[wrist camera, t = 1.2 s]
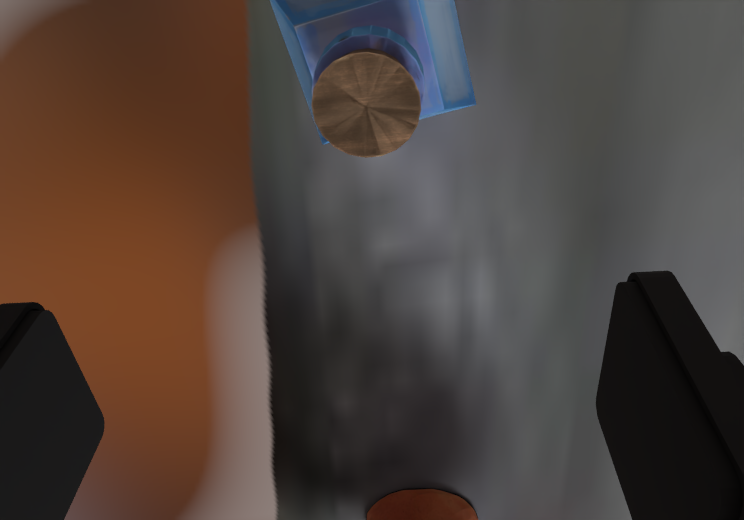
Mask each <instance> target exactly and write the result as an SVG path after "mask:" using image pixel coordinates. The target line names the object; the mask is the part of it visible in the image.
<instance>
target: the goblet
mask: <svg viewBox="0 0 744 520" xmlns="http://www.w3.org/2000/svg"><path fill="white" fill-rule="evenodd" d="M367 520H478V518H477V515H476V513H475V511H474V509H473V508H472V507H471V506H470V505H469V504H468V503H467V502H466V501H465V500H464V499H462V498H461V497H459V496H456V495H453V494H451V493H448V492H445V491H441V490H436V489H418V490H402V491H398V492H395V493H391V494H389V495H387V496H386V497H384V498H382V499H381V500H379V501H378V502H377V503H375V504H374V505H373V506H372V508H371V509H370V510H369V511H368V513H367Z"/></svg>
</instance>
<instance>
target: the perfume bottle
mask: <svg viewBox="0 0 744 520" xmlns="http://www.w3.org/2000/svg"><path fill="white" fill-rule="evenodd" d="M270 3H271V5H272V8H273V11H274V14H275V16H276V19H277V22H278V24H279V27H280V30H281V33H282V35H283V38H284V41H285V43H286V46H287V49H288V52H289V54H290V57H291V60H292V63H293V65H294V68H295V71H296V73H297V76H298V79H299V82H300V84H301V87H302V90H303V93H304V95H305V98H306V101H307V103H308V106H309V109H310V112H311V114H312V117H313V120H314V122H315V125H316V128H317V131H318V133H319V136H320V139H321V142H322V144H327V143H331V144H332V145H333V146H334V147H335V148H337V149H339V150H341V151H343V152H345V153H347V154H349V155H354V156H360V157H365V158H366V157H376V156H382V155H385V154H387V153H390V152H392V151H394V150H397V149H398V148H399V147H400V146H401V145H403V144H404V143H405V142H406V141H407V140H409V138H410V137H411V135H412V133H413V132H414V130H415V129H416V127H417V125H418V121H419V119H423V118H427V117H431V116H434V115H438V114H442V113H446V112H450V111H454V110H457V109H461V108H465V107H469V106H473V105H476V101H475V96H474V91H473V87H472V82H471V77H470V73H469V68H468V63H467V58H466V54H465V49H464V44H463V40H462V35H461V30H460V25H459V21H458V16H457V11H456V7H455V2H454V0H270Z"/></svg>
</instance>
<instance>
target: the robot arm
mask: <svg viewBox="0 0 744 520" xmlns="http://www.w3.org/2000/svg"><path fill="white" fill-rule="evenodd" d="M596 409H597V416H598V419H599V423H600V426H601V429H602V431H603V434H604V437H605V440H606V443H607V446H608V449H609V452H610V455H611V458H612V461H613V464H614V467H615V470H616V473H617V476H618V479H619V482H620V485H621V488H622V490H623V493H624V496H625V499H626V502H627V505H628V508H629V511H630V514H631V517H632V520H744V366H743V364H742V363H741V362H740V360H739V359H738V358H737V357H736V356H735V355H734V354H732V353H730V352H720V350H719V348H718V347H717V345H716V343H715V342H714V340H713V338H712V337H711V335H710V333H709V332H708V330H707V329H706V327H705V325H704V324H703V322H702V320H701V319H700V317H699V315H698V314H697V312H696V310H695V309H694V307H693V305H692V304H691V302H690V301H689V299H688V297H687V296H686V294H685V292H684V291H683V289H682V287H681V286H680V284H679V282H678V281H677V279H676V277H675V276H674V275H673V274H672V272H670V271H653V272H633V273H631V274H630V275H629V277H628V280H627V282H620V283H618V284H617V286H616V290H615V295H614V301H613V307H612V312H611V318H610V323H609V329H608V334H607V340H606V346H605V351H604V357H603V362H602V368H601V374H600V379H599V385H598V390H597V396H596ZM103 432H104V417H103V414H102V412H101V410H100V408H99V406H98V404H97V402H96V400H95V398H94V396H93V394H92V392H91V390H90V388H89V386H88V384H87V382H86V380H85V378H84V376H83V373H82V371H81V370H80V367H79V365H78V363H77V361H76V359H75V357H74V355H73V353H72V351H71V349H70V347H69V345H68V343H67V341H66V339H65V337H64V335H63V333H62V331H61V329H60V326H59V324H58V322H57V320H56V319H55V317H54V315H53V314H52V312H50V311H48V310H45V309H44V308H43V306H42V305H40V304H38V303H35V302H29V303H9V304H8V303H7V304H1V305H0V520H64V518H65V516H66V514H67V512H68V509H69V507H70V505H71V503H72V501H73V499H74V497H75V494H76V492H77V490H78V488H79V486H80V484H81V481H82V479H83V477H84V475H85V473H86V470H87V469H88V466H89V464H90V462H91V460H92V458H93V455H94V453H95V451H96V449H97V446H98V445H99V443H100V440H101V438H102V436H103Z"/></svg>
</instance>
